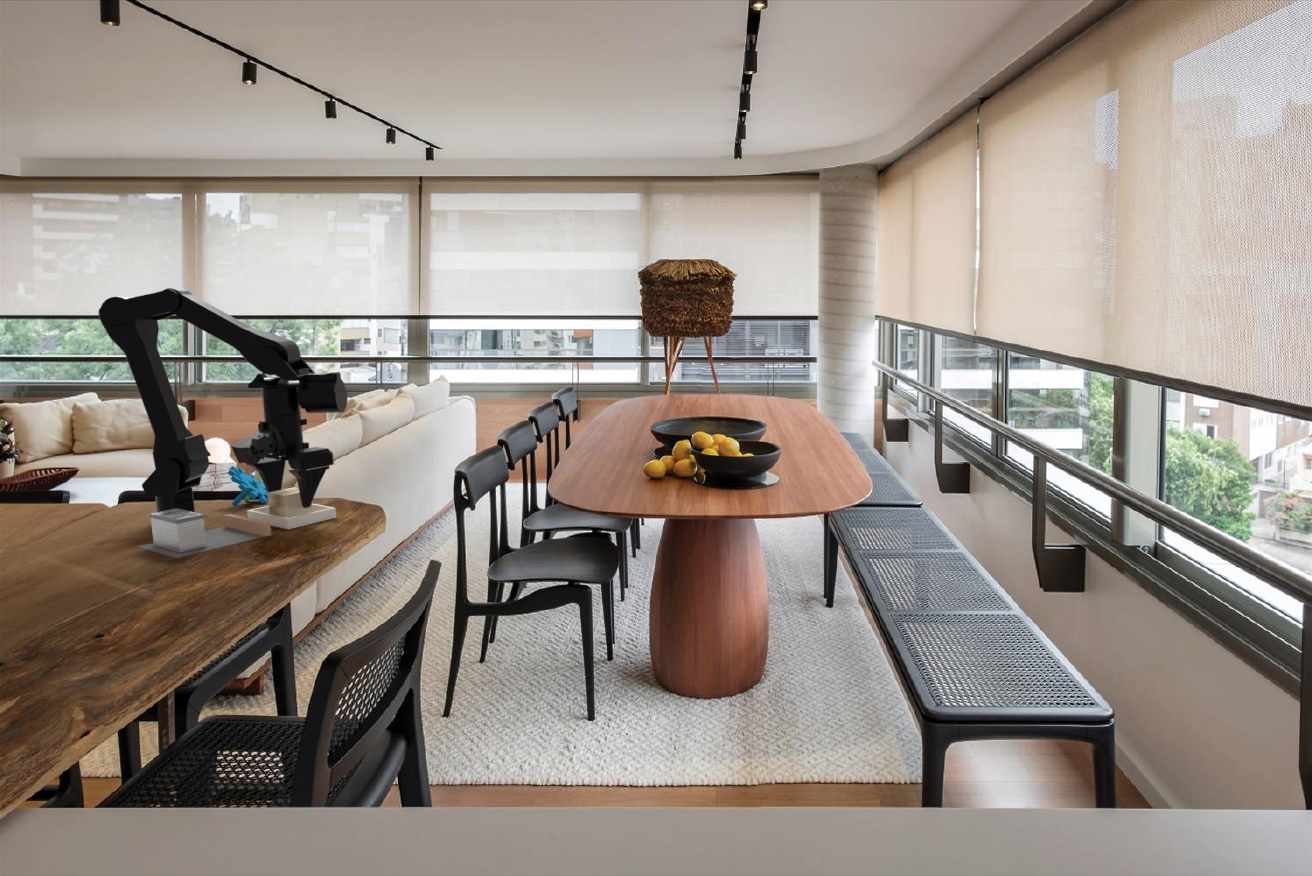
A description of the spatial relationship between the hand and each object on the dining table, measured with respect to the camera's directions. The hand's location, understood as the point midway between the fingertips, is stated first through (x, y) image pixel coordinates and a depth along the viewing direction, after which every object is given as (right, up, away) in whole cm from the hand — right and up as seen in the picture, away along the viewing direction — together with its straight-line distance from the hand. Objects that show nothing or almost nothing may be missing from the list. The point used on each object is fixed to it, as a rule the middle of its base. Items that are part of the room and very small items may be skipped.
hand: (290, 504), depth 152 cm
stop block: (0, -3, 0) cm, 3 cm away
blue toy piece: (-14, -1, +16) cm, 21 cm away
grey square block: (-10, -6, -16) cm, 20 cm away
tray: (0, -3, 0) cm, 3 cm away
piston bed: (-8, -5, -13) cm, 16 cm away
